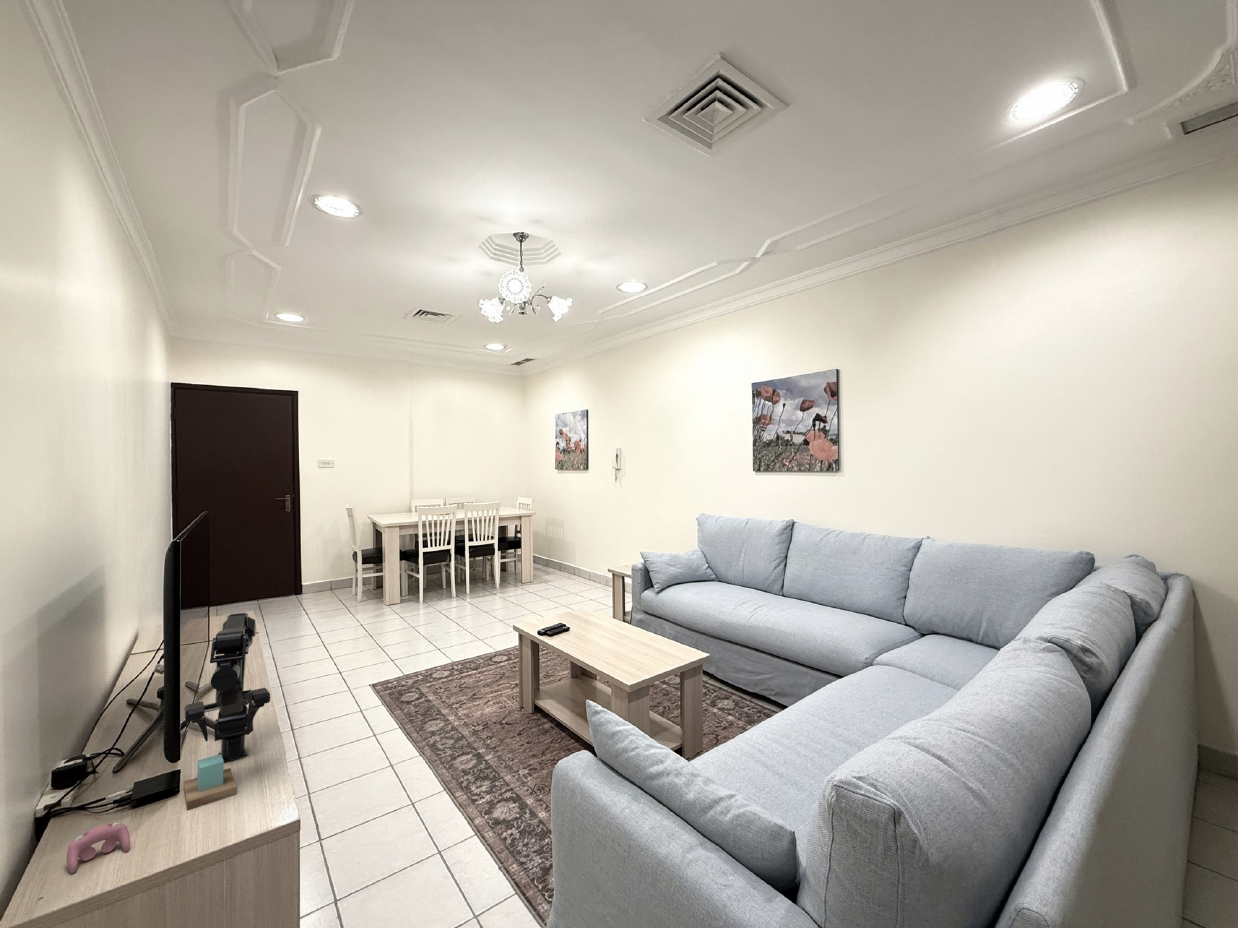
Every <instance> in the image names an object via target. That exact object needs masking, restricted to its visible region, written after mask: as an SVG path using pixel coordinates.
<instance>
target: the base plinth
mask: <svg viewBox="0 0 1238 928" xmlns="http://www.w3.org/2000/svg"><path fill="white" fill-rule="evenodd" d="M183 794H184V799H185V805H186V811H189V810H192V809H196V808H198V807H201V806H205V805H208V804H211V803H214V802H217V801H219V800H223V799H227V798H229V797H232V796H235V795H237V783H236V781H235V778H234V775H233V772H232V769H231V767H229V768H225V769H223V785H220V786H217V787H213V788H210V789H207V790H204V791H201V792H199V790H198V785H197V777H195V778H191V779H188V780H185V781H183Z"/></svg>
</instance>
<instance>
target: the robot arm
mask: <svg viewBox="0 0 1238 928" xmlns="http://www.w3.org/2000/svg"><path fill="white" fill-rule="evenodd" d="M256 632H257V624H256V620H255V619H254V618H252V617H250V616H249V613H246V612H238V613H230V614H229V615H227V619H226V620H225V621H224V622H223V623H222V629H221V630H220V631H217V632H216V634H215V637H212V640H211V641H212V642H211V651H210V658H209V659H210V660H209V664H216V667H215V669H214V671H213V674H212V676H211V678H210V685H211V687H212V688H213V689H214V690H215V702H213V703H208V704H205V703H204V701H202V700H201V701H197V702H192V703H189V704H186V705H185V706H184V707H183V718H184V722H185V723H186V722H187V723H189V722H191V724H197V725H198V727H199V728H200V730H201V733H202V736H203V739H204V740H205V742H208V739H209V737H208V736H209V734H208V727H207V721H206V720H207V719H206V714H205V713H210V712H214V711H218V710H219V711H218V713H217V714H218V715H217V718H216V719H215V721H214V742H217V741H221V742H220V752H218V753H217V755H220V754H221V755H222V758H223V761H224V763H226V762H227V763H228V762H230V761H235V760H237V759H240V758H241V759H242V758H244V757H248V755H249V754H248V750H246V746H245V744H246V743H245V741H246V736H247V735H250V734H251V733H253V732H254V719H255V716H256V714H257V712H258V711H259V710H260V708H263V707H264V706H265V704H268V703H270V702H271V693H270V691H269V690H268V688H266V687H261V688H257V689H253V690H252V689H247V690H245V689H244V688H245V687H244V686H245V675H246V674H245V672H246V671H245V670H246V661H247V660H246V659H247V658H246V657H247V655H249V648H250V647H251V646H252V644H253V641H254V637H256Z"/></svg>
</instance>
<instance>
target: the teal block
mask: <svg viewBox="0 0 1238 928" xmlns="http://www.w3.org/2000/svg"><path fill="white" fill-rule="evenodd" d="M224 763H225V762H224V761H223V758H222V755H221V754H220V755H218V754H217V755H214V756H210V757H209V756H208V757H206V758H202V759H199V760H197V770H196V771H197V772H196V774H197V775H196V778H197V785H198V790H199V792H201V791H204V790H207V789H210V788H213V787H217V786H220V785H223V770H224V767H225V766H224V765H225V764H224Z"/></svg>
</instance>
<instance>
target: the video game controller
mask: <svg viewBox="0 0 1238 928" xmlns="http://www.w3.org/2000/svg"><path fill="white" fill-rule="evenodd" d="M130 837H131V836H130V832H129V829H128V826H127V825H126V824H125V823H122V822H115V823H113V822H112V823H108V824H103V825H100V826H97V827H95V828H92V829H90V830H88V831H86V832H85V833H83V834H81V835H79V836H77V837H76V838H75V839H74V840H72V841H71V842H70V843H69V845H68V847H67V851H66V865H67V869H68V872H69V873H70V874H75V873H76V870H77V867H78V860H79V858H80V860H82V861H83V862H87V861H89V860H91V859H92V858H94V857H95V856H96V854H97V850H96V848H95V847H93V846H92V845H94V844H97V843H100V842H103V841H104V842H103V843H102V845H101V848H100V850H101V852H102V853H105V854H108V853H110V852H112V851H113V850H114V849H115V847H116V845H117V843H119V844H120V846H121V849H122V851H124V852H126V853H127V852H128V851H129V850H130V848H131V838H130Z"/></svg>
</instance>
